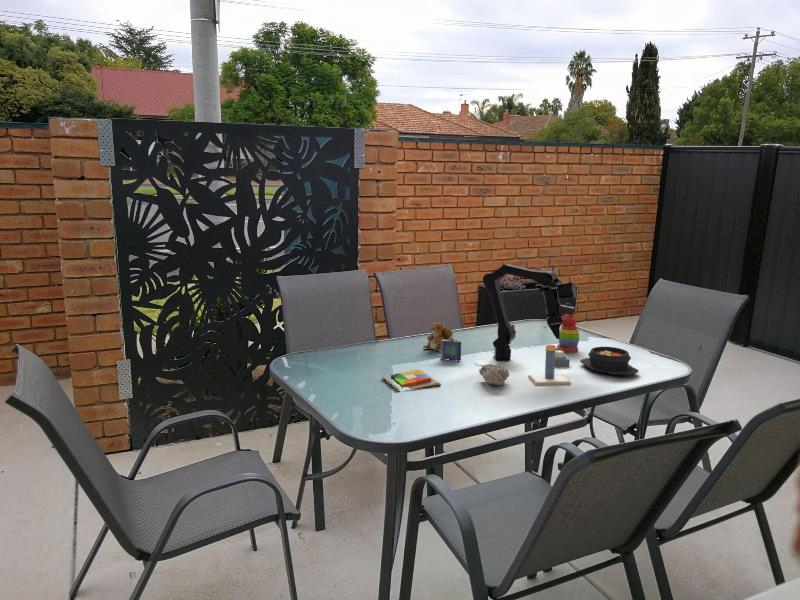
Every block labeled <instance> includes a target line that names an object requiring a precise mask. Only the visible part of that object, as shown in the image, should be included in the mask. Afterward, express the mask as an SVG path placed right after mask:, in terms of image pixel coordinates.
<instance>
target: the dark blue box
mask: <svg viewBox="0 0 800 600" xmlns="http://www.w3.org/2000/svg"><path fill="white" fill-rule="evenodd" d="M453 337H454V335H453V336H451V337H449V338H450V340H441V352H440V360H442V359H449V360H457V361H456V362H460V361H459V360H462V341H461V340H458V339H454V338H453Z"/></svg>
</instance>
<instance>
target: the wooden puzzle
mask: <svg viewBox="0 0 800 600" xmlns="http://www.w3.org/2000/svg"><path fill="white" fill-rule="evenodd" d="M390 376H391V379H393V380H394V381H395V382H396V383H397V384H399V385H400V386H401V387H402V388H403V387H409V389H415V388H420V389H424V388H423V387H425V388H428V387H432V386H439V385H441V386H442V383H441V382H439V381H438V380H436V379H435V378H433V377H432V376H431V375H429V374H428V373H426V372H425V371H424V370H422V369H419V368H418V369H417V368H416V369H414V370H410V371H409V370H408V371H404V372H400V373H399V372H398V373H394V374H391V375H390ZM386 377H387V376H384V375H382V376H381V378H382V379H383V378H384V379H385V380H386V381H385V380H384V379H383V380H384V381H385V382H386V383H387V384H389V385H390V384H391V385H392V386H391V385H390V386H391V387H392V388H394V389H395V390H396V391H397V390H400V389H399V388H398V387H397V386H395V385H394V384H393V383H392V382H391V381H389V380H388V379H387V378H386Z"/></svg>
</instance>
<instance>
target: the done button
mask: <svg viewBox="0 0 800 600" xmlns="http://www.w3.org/2000/svg"><path fill="white" fill-rule="evenodd" d="M564 355H565V353H564V351H560V350H556V351H555V359H564Z"/></svg>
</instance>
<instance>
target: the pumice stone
mask: <svg viewBox="0 0 800 600" xmlns="http://www.w3.org/2000/svg"><path fill="white" fill-rule="evenodd" d="M478 371H479V374H480V376H481V377H482V378H483V380H484V381H485V382H486V383H487V384H490V385H494V386H502V385H503V384H505V383H506V380H507V379H508V378H509V377H510V372H509V370H508V368H506V367H505V365H503V364H499V365H498V364H493V363H491V364H489V363H488V364H484V365H482V366H481V368H479V370H478Z"/></svg>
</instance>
